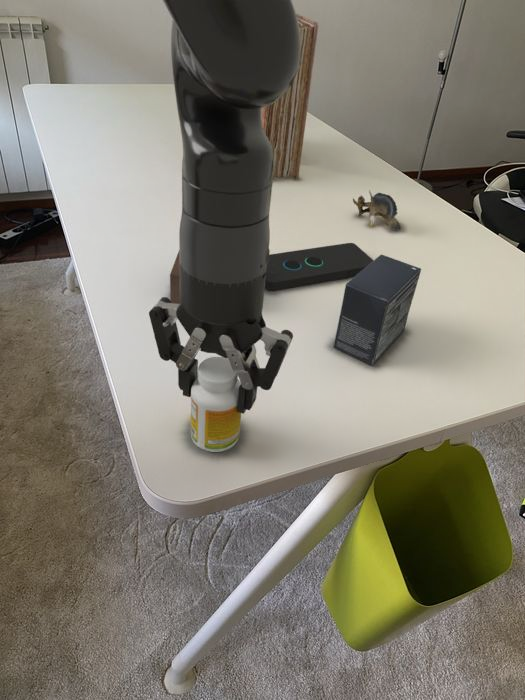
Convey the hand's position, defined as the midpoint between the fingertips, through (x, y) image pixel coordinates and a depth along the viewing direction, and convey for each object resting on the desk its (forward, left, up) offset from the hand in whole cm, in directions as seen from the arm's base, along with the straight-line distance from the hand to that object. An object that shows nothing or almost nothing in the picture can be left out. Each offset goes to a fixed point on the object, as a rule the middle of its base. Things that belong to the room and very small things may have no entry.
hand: (216, 399), depth 57 cm
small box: (+13, +25, -6) cm, 29 cm away
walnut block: (-12, +27, -6) cm, 30 cm away
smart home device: (+1, +40, -6) cm, 40 cm away
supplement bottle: (0, 0, -6) cm, 6 cm away
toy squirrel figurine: (+8, +63, -6) cm, 64 cm away
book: (-23, +83, -6) cm, 86 cm away
